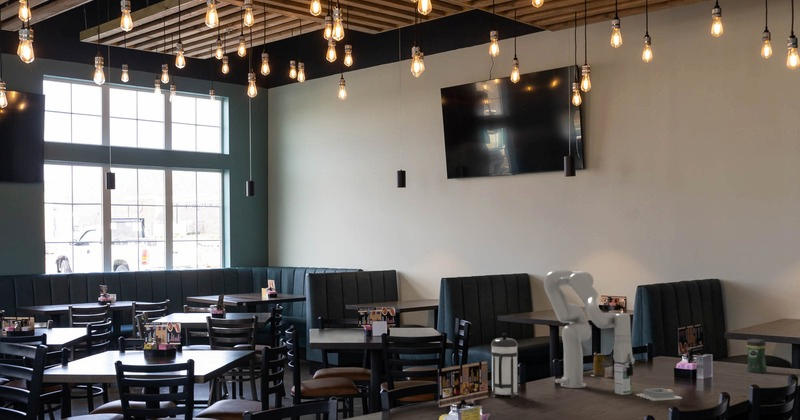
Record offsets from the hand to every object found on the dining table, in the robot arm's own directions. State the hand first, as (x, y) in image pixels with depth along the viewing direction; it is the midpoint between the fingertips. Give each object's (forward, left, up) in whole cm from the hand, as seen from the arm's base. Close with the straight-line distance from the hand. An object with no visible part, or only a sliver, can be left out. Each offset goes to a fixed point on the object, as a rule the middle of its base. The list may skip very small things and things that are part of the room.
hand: (624, 374), depth 397 cm
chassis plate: (+11, -12, -9) cm, 19 cm away
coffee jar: (+109, +36, -10) cm, 115 cm away
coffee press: (-58, +11, -10) cm, 60 cm away
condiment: (+16, +49, -10) cm, 52 cm away
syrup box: (0, +1, -10) cm, 10 cm away
